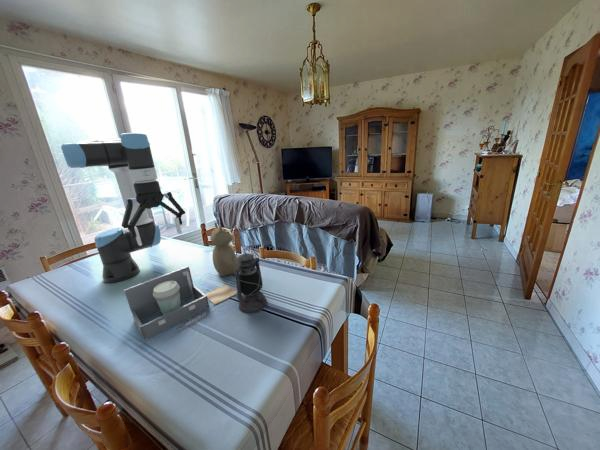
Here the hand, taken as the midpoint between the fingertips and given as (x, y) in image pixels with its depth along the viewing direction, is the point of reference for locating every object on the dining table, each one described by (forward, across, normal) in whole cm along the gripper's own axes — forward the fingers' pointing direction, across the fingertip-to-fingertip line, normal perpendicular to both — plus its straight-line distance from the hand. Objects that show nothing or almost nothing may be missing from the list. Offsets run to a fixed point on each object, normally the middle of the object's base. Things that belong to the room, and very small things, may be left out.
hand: (160, 238), depth 91 cm
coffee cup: (+27, -4, -9) cm, 29 cm away
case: (+27, -4, -9) cm, 28 cm away
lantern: (+26, +18, -27) cm, 42 cm away
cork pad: (+26, +14, -11) cm, 32 cm away
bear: (+27, +28, +3) cm, 39 cm away
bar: (+27, -2, -19) cm, 33 cm away
